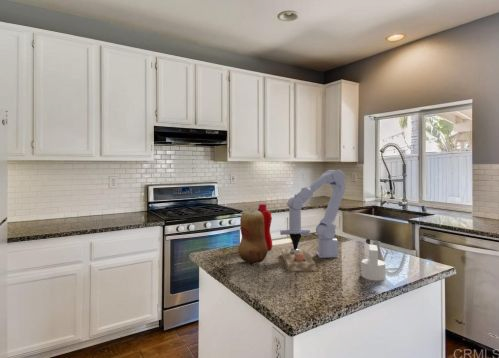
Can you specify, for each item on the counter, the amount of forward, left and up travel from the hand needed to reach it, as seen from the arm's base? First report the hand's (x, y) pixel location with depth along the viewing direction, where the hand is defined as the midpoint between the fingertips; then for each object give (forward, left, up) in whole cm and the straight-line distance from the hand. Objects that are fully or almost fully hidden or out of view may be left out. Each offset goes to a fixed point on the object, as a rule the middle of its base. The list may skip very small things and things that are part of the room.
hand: (295, 248), depth 150 cm
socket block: (0, +6, -5) cm, 8 cm away
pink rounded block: (0, +12, -4) cm, 13 cm away
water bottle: (+16, -18, -5) cm, 25 cm away
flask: (-37, +8, -5) cm, 38 cm away
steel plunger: (0, 0, -4) cm, 4 cm away
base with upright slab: (-28, +26, -5) cm, 39 cm away
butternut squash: (+21, +7, -5) cm, 23 cm away
